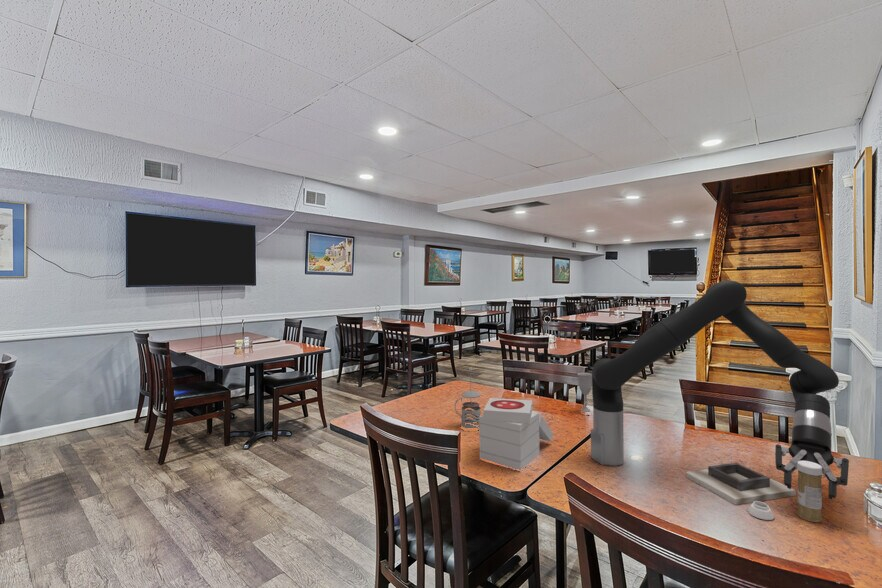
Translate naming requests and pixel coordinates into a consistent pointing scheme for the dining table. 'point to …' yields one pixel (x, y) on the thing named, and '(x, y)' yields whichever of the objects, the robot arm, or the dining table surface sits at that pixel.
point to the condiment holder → (739, 483)
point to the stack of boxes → (511, 432)
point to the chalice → (585, 387)
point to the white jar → (761, 511)
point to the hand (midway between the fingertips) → (809, 492)
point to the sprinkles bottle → (809, 491)
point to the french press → (470, 405)
